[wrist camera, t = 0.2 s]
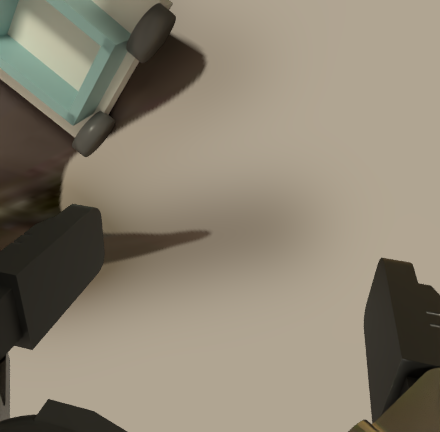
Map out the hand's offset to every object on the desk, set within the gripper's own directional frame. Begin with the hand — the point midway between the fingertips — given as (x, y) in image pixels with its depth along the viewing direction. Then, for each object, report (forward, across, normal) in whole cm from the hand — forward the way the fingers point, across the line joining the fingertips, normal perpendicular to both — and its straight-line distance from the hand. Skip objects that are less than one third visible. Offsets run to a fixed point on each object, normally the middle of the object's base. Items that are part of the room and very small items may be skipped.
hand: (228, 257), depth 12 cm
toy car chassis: (+23, +18, -3) cm, 29 cm away
